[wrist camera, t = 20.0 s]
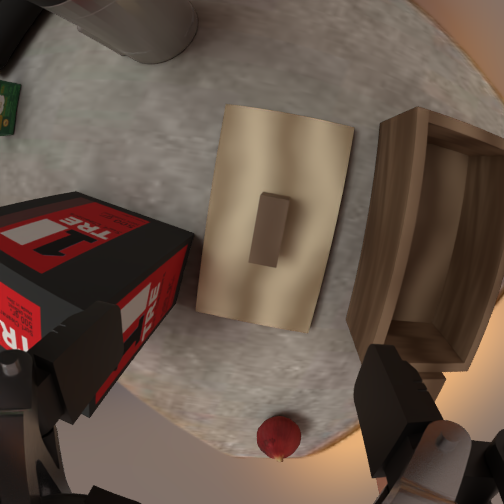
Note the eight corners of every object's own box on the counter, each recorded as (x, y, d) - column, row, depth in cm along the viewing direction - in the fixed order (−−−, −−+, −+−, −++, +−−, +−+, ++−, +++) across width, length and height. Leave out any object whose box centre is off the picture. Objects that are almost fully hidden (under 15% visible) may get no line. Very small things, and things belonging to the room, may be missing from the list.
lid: (200, 303, 36) (184, 328, 30) (229, 108, 30) (217, 95, 24) (306, 324, 35) (310, 353, 29) (349, 130, 29) (364, 121, 23)
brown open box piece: (335, 355, 36) (350, 418, 25) (380, 123, 28) (424, 103, 18) (420, 359, 35) (451, 414, 24) (471, 149, 27) (532, 149, 17)
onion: (259, 430, 40) (254, 472, 33) (258, 404, 39) (252, 447, 31) (299, 431, 40) (299, 472, 32) (301, 404, 38) (303, 447, 30)
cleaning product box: (66, 256, 36) (-48, 317, 17) (75, 191, 34) (-57, 222, 14) (175, 303, 36) (89, 418, 17) (194, 233, 33) (91, 314, 14)
